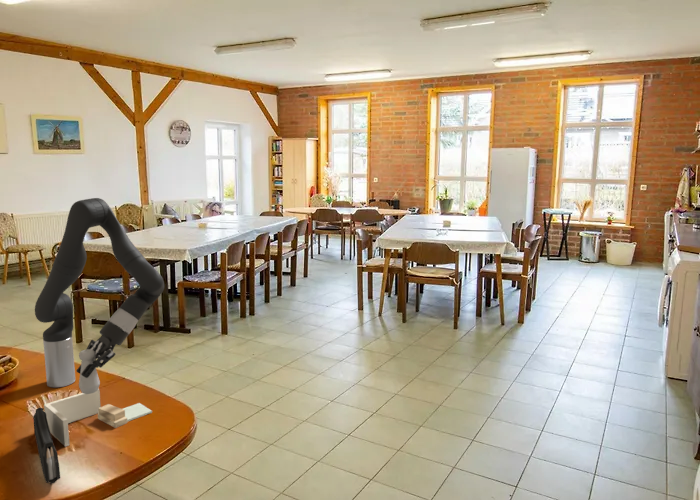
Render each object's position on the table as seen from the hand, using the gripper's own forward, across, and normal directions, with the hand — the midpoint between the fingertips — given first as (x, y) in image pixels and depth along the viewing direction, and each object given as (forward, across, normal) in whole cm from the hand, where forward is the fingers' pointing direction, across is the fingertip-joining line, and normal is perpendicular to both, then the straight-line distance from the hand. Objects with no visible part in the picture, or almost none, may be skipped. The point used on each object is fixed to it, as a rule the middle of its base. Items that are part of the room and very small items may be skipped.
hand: (81, 374), depth 156 cm
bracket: (+13, -2, +13) cm, 18 cm away
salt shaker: (+3, 0, +6) cm, 6 cm away
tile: (+2, 0, +23) cm, 23 cm away
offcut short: (+6, 0, +17) cm, 18 cm away
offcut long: (+7, 0, +19) cm, 20 cm away
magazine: (+23, +10, +3) cm, 25 cm away
